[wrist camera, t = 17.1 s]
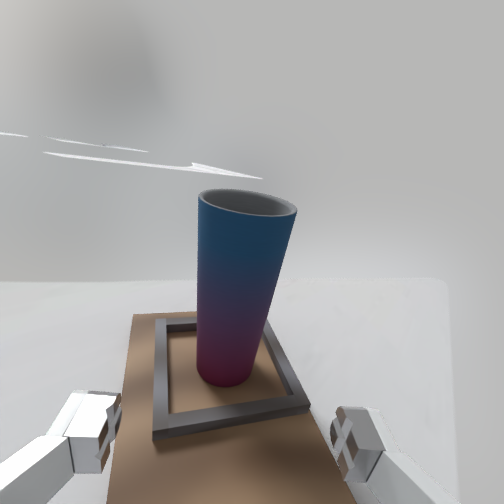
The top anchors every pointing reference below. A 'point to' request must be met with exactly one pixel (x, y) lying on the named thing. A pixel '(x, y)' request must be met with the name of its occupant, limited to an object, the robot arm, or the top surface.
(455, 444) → the top surface
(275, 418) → the board
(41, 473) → the robot arm
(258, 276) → the cup
